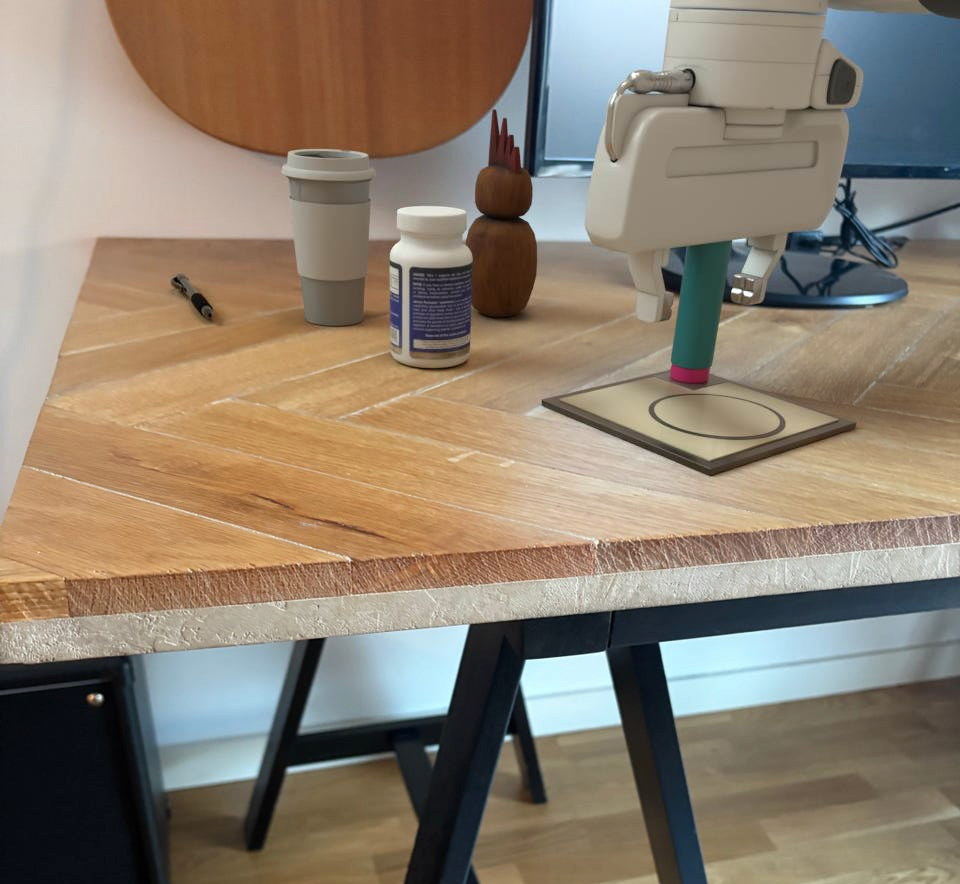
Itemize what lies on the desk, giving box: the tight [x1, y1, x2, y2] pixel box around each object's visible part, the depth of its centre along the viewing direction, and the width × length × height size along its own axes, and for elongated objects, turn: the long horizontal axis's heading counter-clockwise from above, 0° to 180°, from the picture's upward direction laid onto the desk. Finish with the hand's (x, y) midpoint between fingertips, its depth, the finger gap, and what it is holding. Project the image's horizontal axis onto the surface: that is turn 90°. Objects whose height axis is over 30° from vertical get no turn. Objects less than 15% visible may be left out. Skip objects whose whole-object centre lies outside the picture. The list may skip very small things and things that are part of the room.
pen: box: [170, 273, 214, 319], centre depth 82 cm, size 14×2×1 cm, turn 24°
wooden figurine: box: [464, 109, 538, 318], centre depth 80 cm, size 7×6×15 cm
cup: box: [281, 148, 377, 327], centre depth 77 cm, size 7×7×12 cm
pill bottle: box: [389, 205, 473, 369], centre depth 69 cm, size 6×6×10 cm
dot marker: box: [670, 240, 733, 384], centre depth 65 cm, size 3×3×12 cm
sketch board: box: [540, 369, 857, 476], centre depth 63 cm, size 14×14×1 cm
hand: (701, 311), depth 66 cm, fingers open, 8 cm apart
